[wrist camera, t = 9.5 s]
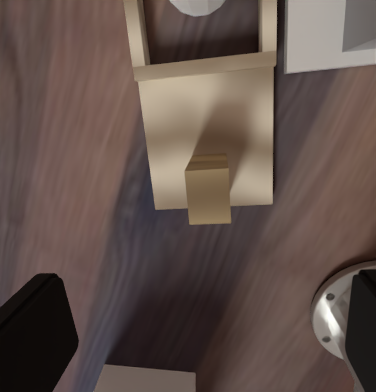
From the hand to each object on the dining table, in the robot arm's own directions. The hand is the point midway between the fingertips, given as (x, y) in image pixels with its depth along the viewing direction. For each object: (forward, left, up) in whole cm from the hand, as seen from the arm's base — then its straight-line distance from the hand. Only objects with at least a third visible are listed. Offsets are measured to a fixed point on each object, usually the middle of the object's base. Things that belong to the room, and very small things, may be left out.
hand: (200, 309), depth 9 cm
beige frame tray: (+8, 0, -18) cm, 20 cm away
